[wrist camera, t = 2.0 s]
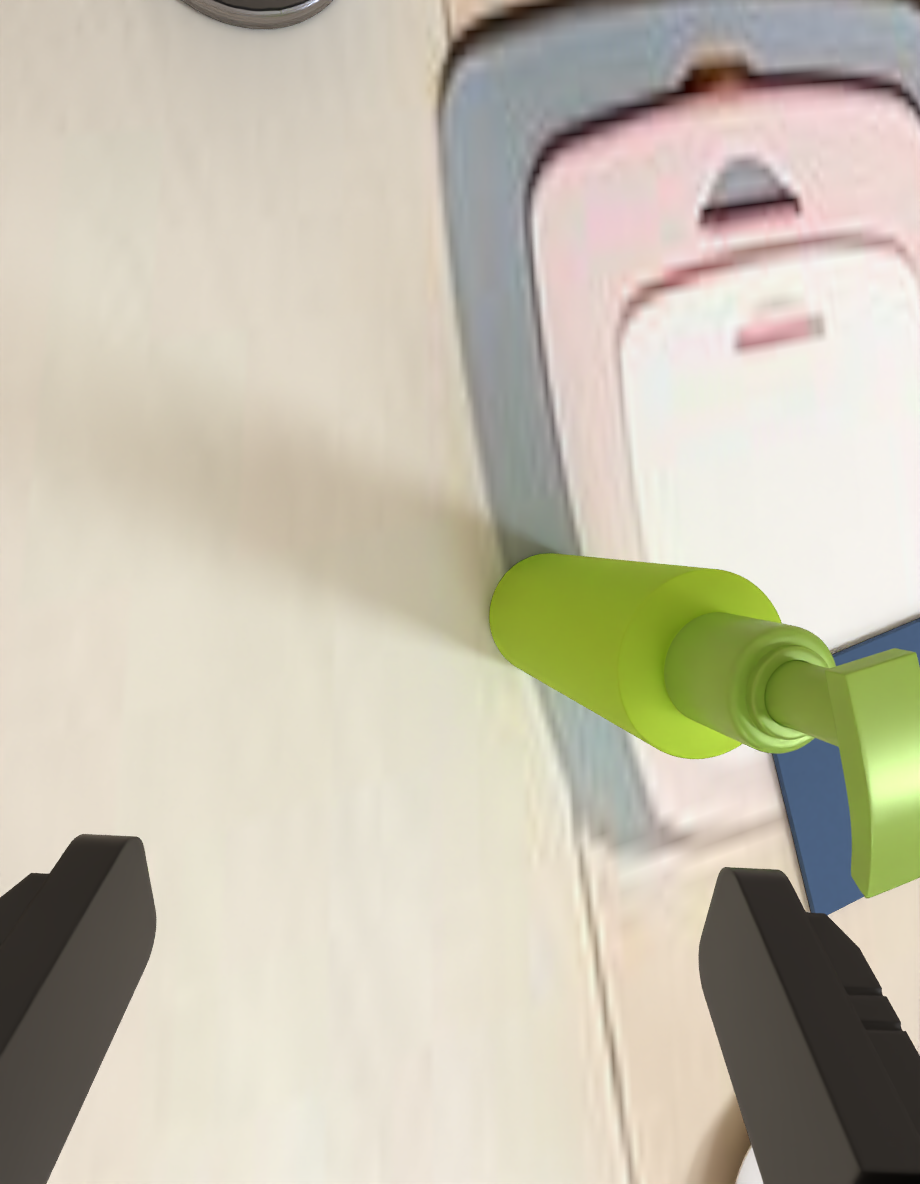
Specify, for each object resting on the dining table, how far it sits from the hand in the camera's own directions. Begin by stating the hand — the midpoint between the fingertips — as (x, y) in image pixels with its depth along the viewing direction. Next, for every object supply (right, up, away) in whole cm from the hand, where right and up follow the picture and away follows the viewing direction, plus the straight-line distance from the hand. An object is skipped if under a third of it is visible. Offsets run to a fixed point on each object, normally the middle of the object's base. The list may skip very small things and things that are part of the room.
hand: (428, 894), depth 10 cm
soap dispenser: (+5, +3, +25) cm, 25 cm away
